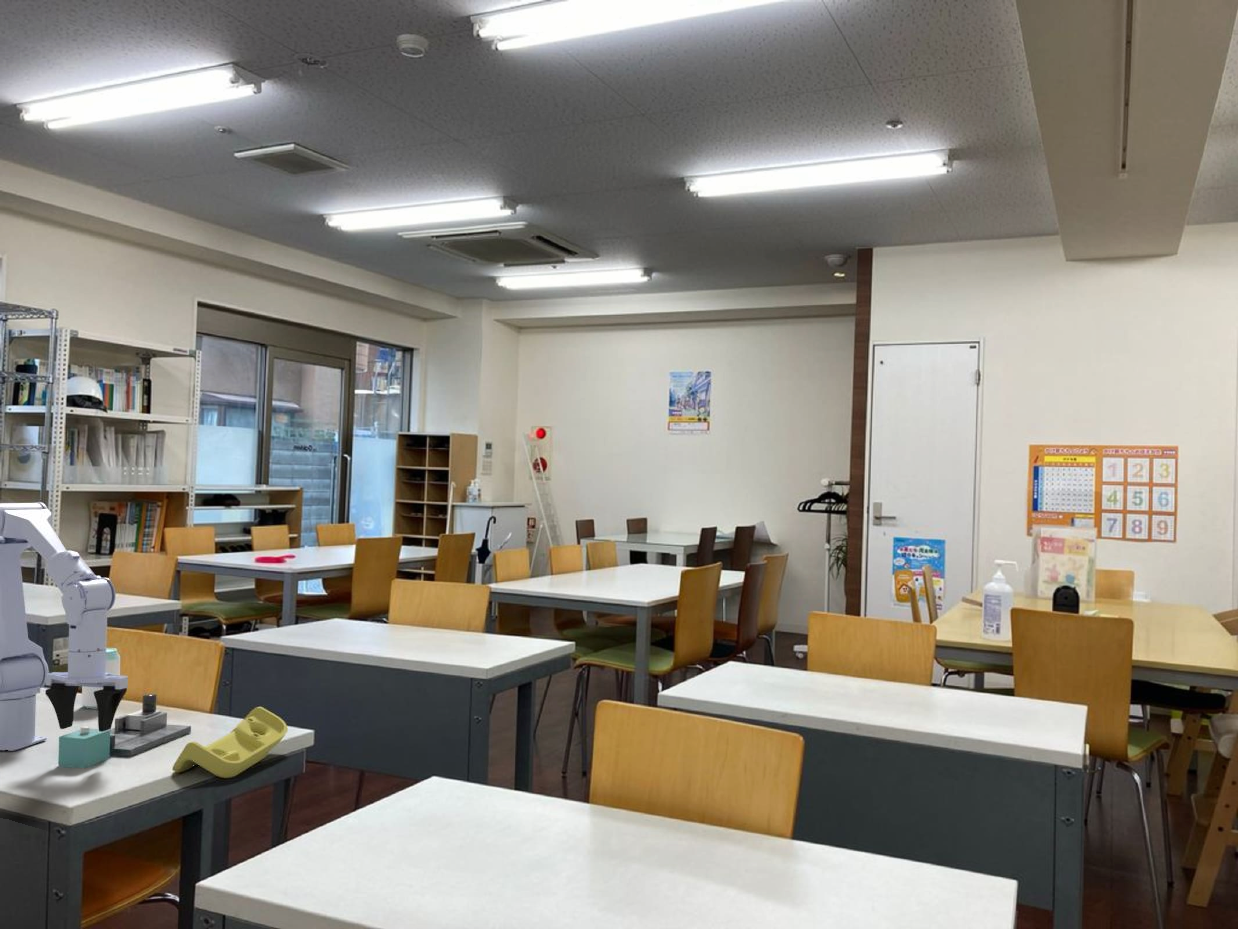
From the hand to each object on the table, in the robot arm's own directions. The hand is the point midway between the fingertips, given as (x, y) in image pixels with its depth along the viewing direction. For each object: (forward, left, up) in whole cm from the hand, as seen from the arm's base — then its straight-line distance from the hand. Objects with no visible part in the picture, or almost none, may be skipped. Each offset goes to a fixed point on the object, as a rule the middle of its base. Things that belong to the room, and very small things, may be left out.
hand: (85, 728), depth 163 cm
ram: (-3, +19, -4) cm, 19 cm away
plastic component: (+25, +6, -6) cm, 26 cm away
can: (-26, +36, -6) cm, 45 cm away
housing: (0, 0, -6) cm, 6 cm away
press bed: (-1, +12, -6) cm, 13 cm away
